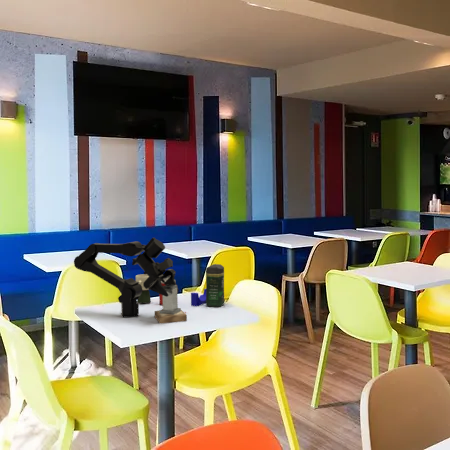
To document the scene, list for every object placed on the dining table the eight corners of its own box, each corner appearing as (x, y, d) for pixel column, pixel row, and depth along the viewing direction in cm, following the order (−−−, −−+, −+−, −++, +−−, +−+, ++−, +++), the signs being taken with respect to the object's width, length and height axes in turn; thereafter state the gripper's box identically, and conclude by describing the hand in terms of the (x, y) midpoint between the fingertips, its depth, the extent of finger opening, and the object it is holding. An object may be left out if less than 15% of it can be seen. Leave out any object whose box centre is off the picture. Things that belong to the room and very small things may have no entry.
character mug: (141, 300, 259) (140, 273, 258) (155, 300, 258) (154, 273, 256) (132, 305, 249) (131, 277, 248) (146, 305, 247) (146, 277, 246)
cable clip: (203, 300, 257) (203, 288, 257) (211, 301, 255) (211, 289, 254) (188, 305, 247) (188, 292, 247) (196, 306, 245) (196, 293, 244)
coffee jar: (221, 307, 242) (220, 266, 240) (204, 307, 244) (203, 266, 242) (226, 303, 251) (225, 263, 250) (209, 302, 253) (209, 262, 252)
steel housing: (159, 313, 220) (159, 286, 220) (166, 309, 226) (166, 283, 226) (173, 314, 218) (173, 287, 217) (180, 311, 224) (180, 284, 223)
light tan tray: (159, 323, 216) (159, 316, 215) (154, 317, 226) (154, 310, 226) (186, 320, 219) (186, 314, 219) (180, 314, 229) (180, 308, 229)
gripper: (149, 255, 213) (175, 284, 210) (171, 249, 230) (195, 277, 227) (132, 274, 217) (157, 303, 213) (155, 267, 234) (178, 294, 231)
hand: (173, 293), depth 221 cm, fingers open, 9 cm apart
